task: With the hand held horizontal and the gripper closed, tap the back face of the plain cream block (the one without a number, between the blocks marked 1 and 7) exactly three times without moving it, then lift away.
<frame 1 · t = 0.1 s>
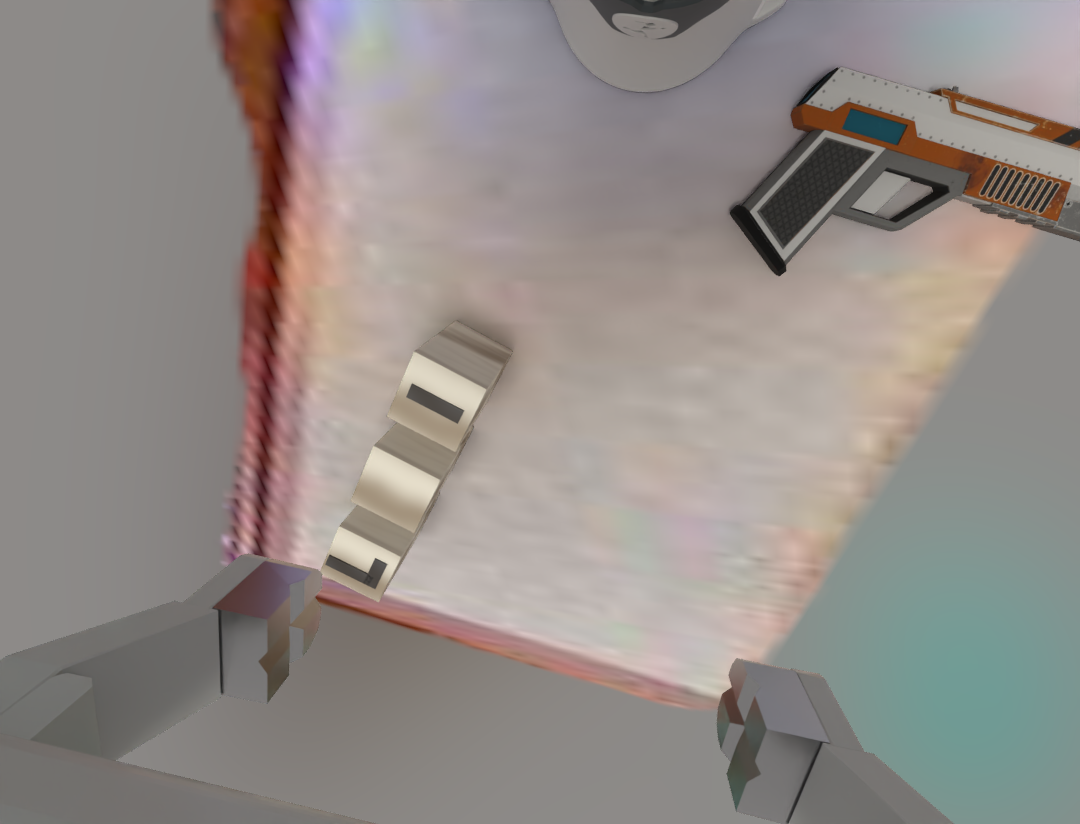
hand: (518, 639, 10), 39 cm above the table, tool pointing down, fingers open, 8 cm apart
toy gun: (923, 211, 41), on the table
block seven: (405, 500, 56), on the table
block one: (471, 362, 50), on the table
plain block: (436, 436, 53), on the table
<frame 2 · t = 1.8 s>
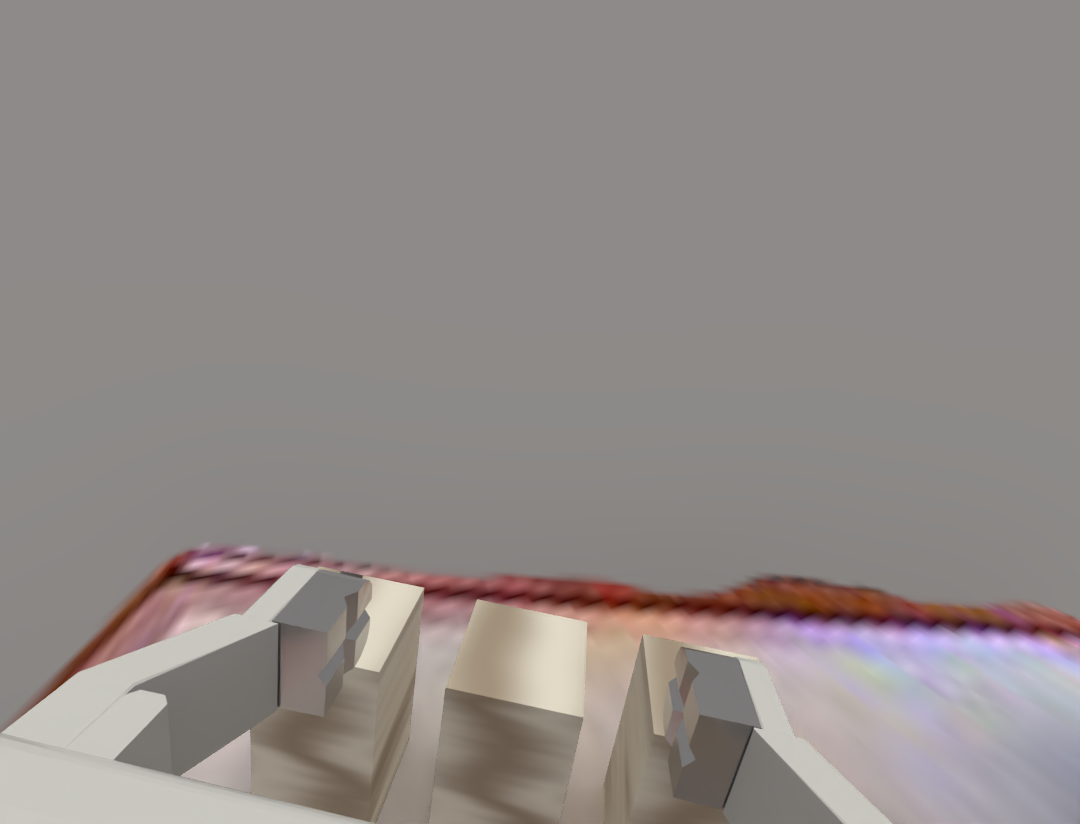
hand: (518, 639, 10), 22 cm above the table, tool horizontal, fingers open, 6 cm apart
block seven: (337, 775, 29), on the table
plain block: (495, 813, 28), on the table
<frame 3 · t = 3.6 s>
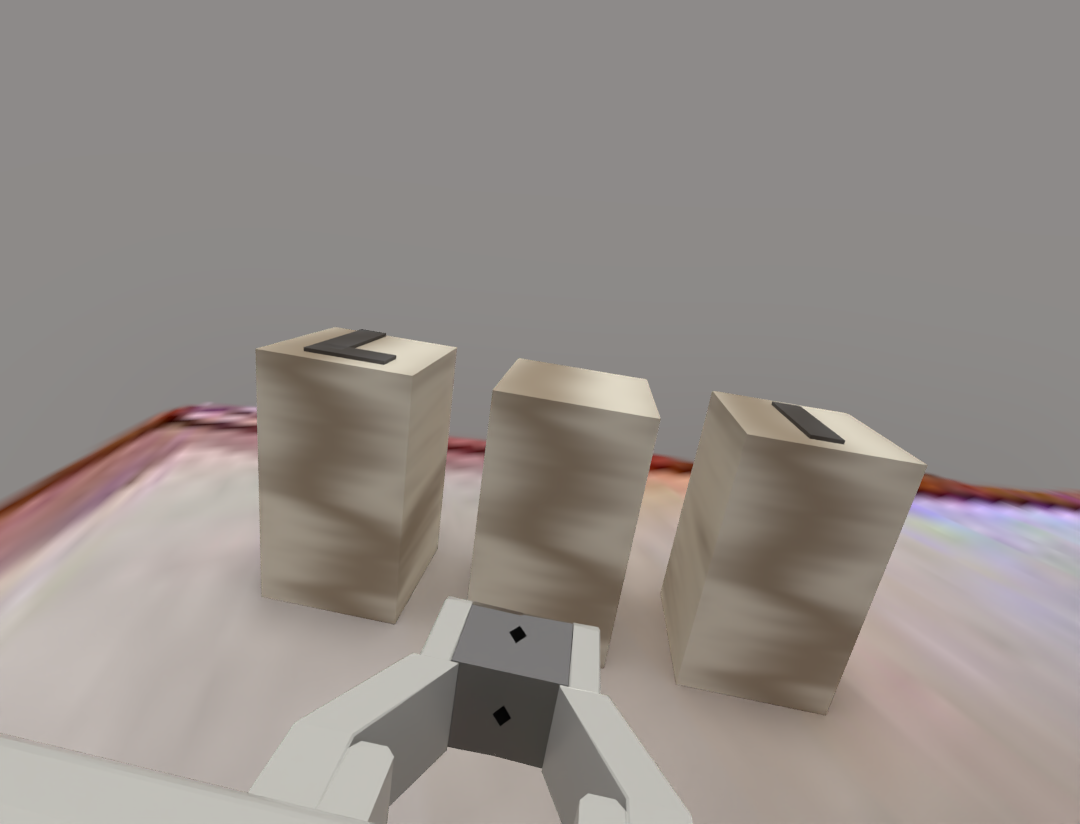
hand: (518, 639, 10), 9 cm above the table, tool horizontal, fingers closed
block seven: (358, 570, 25), on the table
block one: (732, 646, 24), on the table
plain block: (540, 607, 24), on the table
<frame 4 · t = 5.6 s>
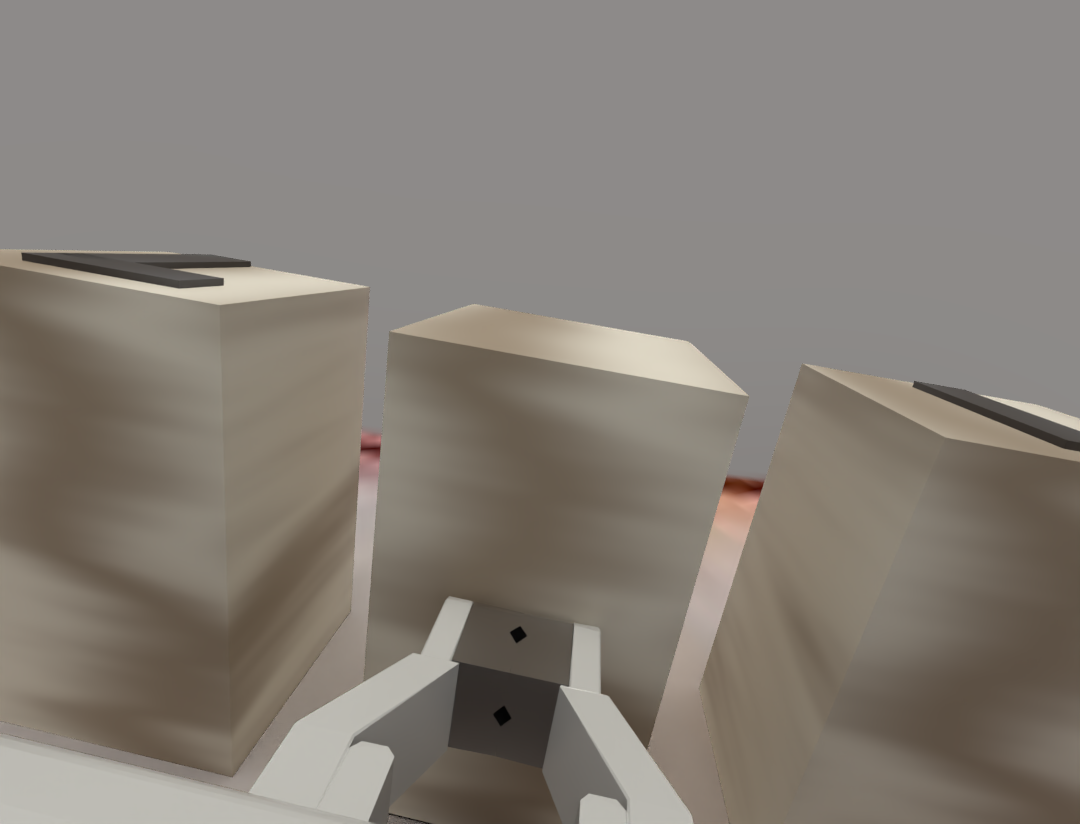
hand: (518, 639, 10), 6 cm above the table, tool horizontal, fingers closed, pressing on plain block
block seven: (205, 656, 15), on the table
block one: (830, 801, 14), on the table
plain block: (505, 722, 15), on the table, touching gripper
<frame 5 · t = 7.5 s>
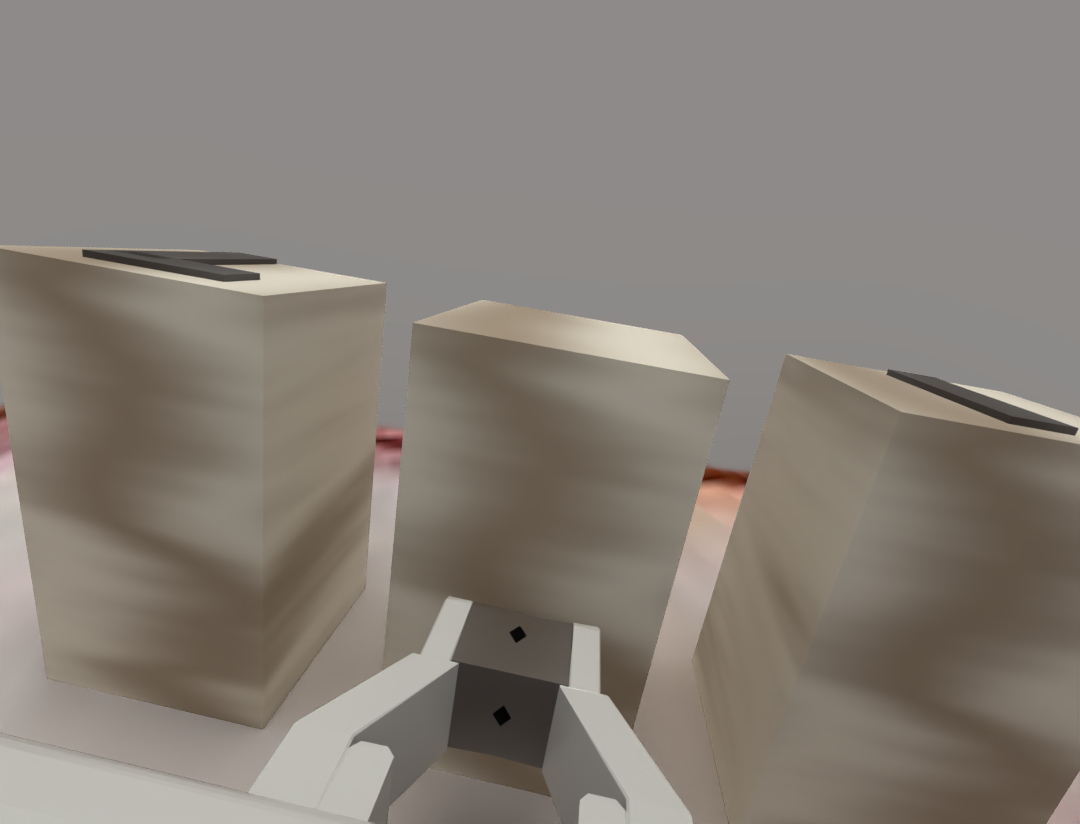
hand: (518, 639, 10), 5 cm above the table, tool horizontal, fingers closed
block seven: (232, 625, 16), on the table
block one: (812, 758, 15), on the table
plain block: (511, 687, 16), on the table
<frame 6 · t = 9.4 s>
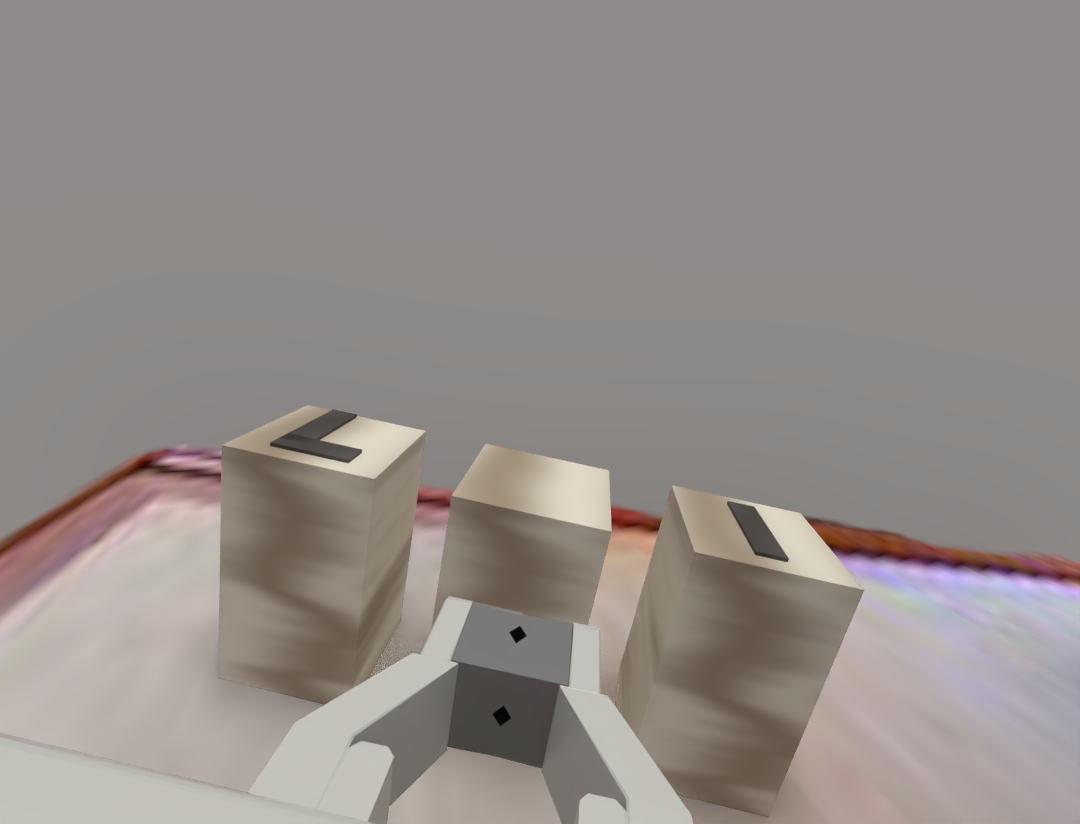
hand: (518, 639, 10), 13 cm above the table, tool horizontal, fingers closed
block seven: (319, 646, 25), on the table
block one: (683, 736, 24), on the table
plain block: (497, 688, 25), on the table
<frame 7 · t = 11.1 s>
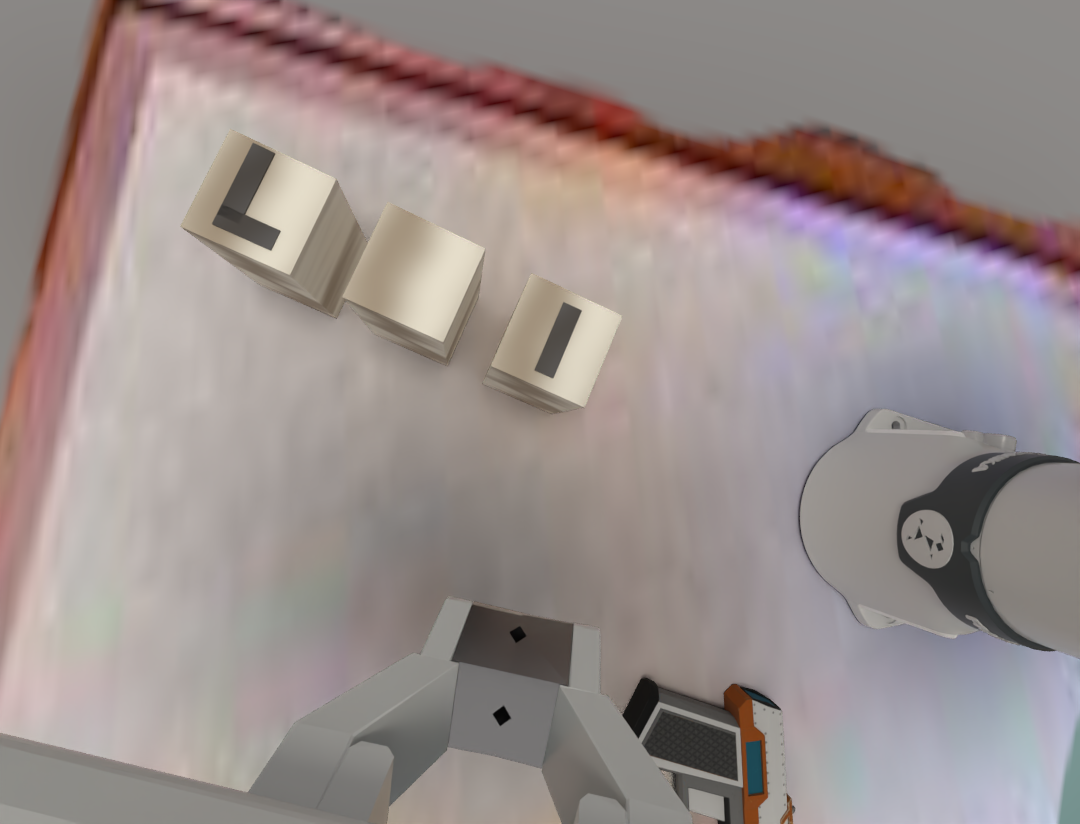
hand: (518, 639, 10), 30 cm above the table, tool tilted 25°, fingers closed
block seven: (315, 266, 39), on the table
block one: (532, 364, 41), on the table
plain block: (427, 315, 40), on the table
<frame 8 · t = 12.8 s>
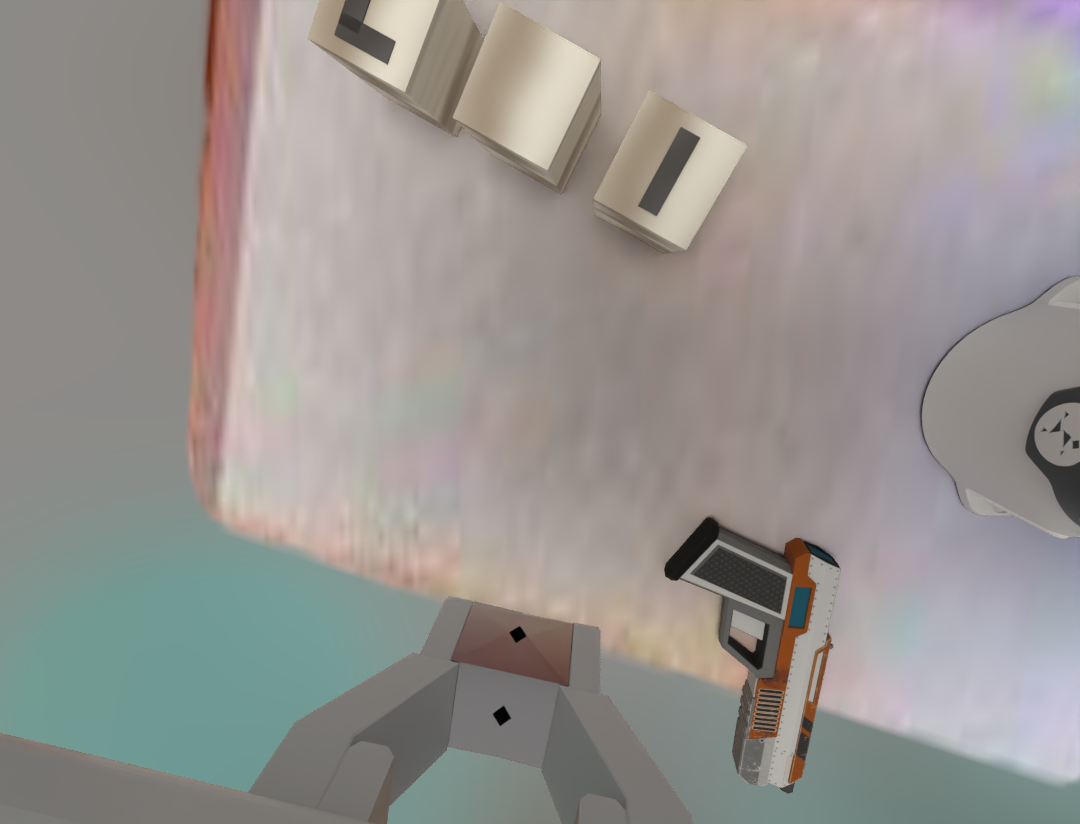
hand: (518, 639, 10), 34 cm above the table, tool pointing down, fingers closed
toy gun: (735, 650, 50), on the table
block seven: (437, 76, 38), on the table
block one: (649, 196, 39), on the table
plain block: (545, 135, 38), on the table
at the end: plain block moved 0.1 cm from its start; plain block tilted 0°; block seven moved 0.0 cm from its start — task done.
